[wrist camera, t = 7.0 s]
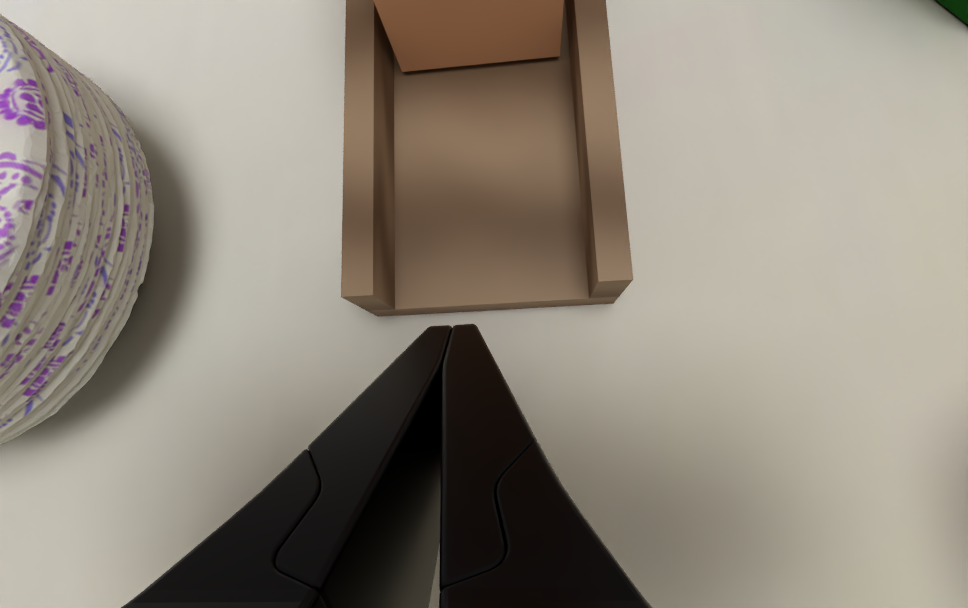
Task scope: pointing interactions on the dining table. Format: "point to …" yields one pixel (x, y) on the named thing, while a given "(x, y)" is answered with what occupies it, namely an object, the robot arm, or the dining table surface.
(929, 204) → the dining table surface
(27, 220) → the paper bowls
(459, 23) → the block
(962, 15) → the milk carton
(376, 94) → the brown wooden tray
